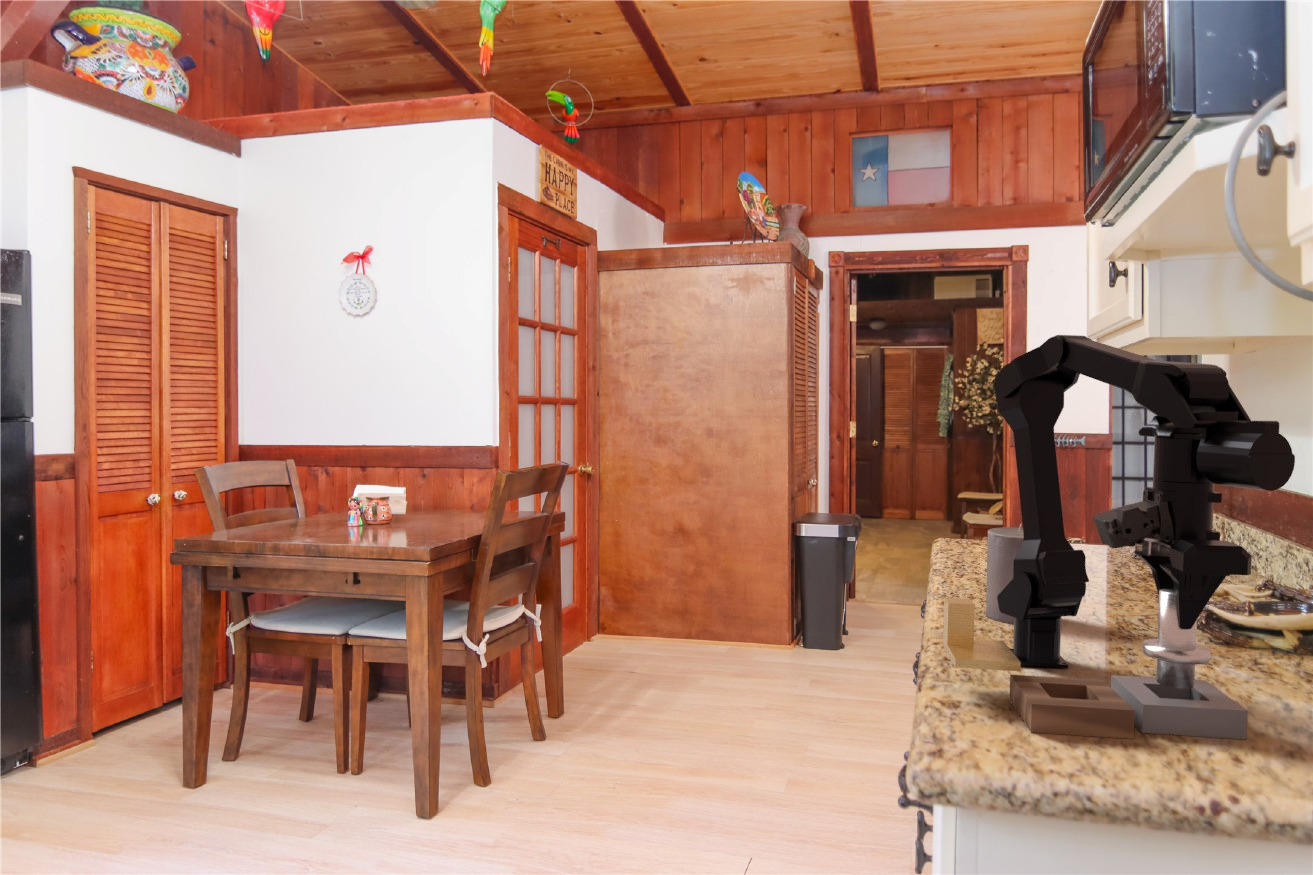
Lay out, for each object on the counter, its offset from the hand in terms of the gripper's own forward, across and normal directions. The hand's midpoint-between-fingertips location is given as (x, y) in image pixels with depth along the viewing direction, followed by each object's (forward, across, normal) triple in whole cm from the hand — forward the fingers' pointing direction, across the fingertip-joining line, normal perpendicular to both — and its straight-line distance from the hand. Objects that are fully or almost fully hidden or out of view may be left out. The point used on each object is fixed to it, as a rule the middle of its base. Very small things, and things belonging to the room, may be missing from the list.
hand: (1177, 624), depth 98 cm
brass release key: (+6, -4, -20) cm, 21 cm away
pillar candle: (+11, -44, -6) cm, 46 cm away
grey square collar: (+10, 0, 0) cm, 10 cm away
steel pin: (+6, 0, 0) cm, 6 cm away
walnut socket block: (+10, +2, -11) cm, 16 cm away
